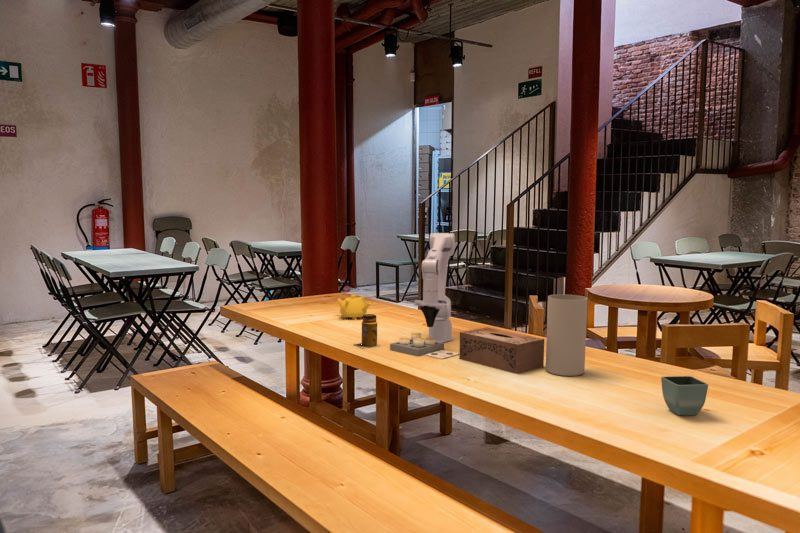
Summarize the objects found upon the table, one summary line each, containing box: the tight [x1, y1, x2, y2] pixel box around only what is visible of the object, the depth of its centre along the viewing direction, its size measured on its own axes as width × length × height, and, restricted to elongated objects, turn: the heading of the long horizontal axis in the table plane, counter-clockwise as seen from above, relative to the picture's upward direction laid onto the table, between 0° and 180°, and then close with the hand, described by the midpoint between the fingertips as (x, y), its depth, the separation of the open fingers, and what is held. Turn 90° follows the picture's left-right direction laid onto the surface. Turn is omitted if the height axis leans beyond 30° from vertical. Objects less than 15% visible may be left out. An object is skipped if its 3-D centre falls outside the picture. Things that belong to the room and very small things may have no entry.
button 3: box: [413, 337, 425, 348], centre depth 235 cm, size 4×4×3 cm
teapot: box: [336, 294, 372, 320], centre depth 304 cm, size 20×18×11 cm
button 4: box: [424, 337, 435, 346], centre depth 239 cm, size 4×4×3 cm
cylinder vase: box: [545, 294, 588, 377], centre depth 209 cm, size 12×12×25 cm
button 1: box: [398, 337, 411, 345], centre depth 239 cm, size 4×4×3 cm
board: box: [389, 338, 445, 357], centre depth 240 cm, size 15×14×2 cm
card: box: [424, 349, 459, 360], centre depth 232 cm, size 10×8×1 cm
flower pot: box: [660, 375, 709, 416], centre depth 169 cm, size 9×9×9 cm
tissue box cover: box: [458, 327, 545, 375], centre depth 221 cm, size 26×14×10 cm, turn 41°
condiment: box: [353, 313, 382, 349], centre depth 245 cm, size 7×8×12 cm
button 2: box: [410, 332, 422, 342], centre depth 244 cm, size 4×4×3 cm
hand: (430, 326), depth 239 cm, fingers closed
